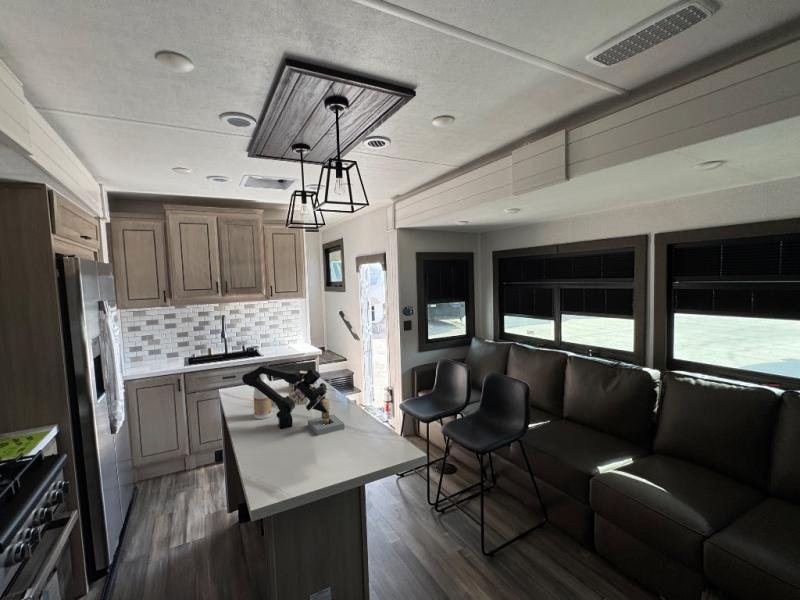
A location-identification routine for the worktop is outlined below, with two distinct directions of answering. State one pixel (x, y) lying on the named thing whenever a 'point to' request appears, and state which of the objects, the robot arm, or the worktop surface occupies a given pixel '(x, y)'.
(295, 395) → the decorative jar
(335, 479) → the worktop surface
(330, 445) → the worktop surface
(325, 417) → the oak peg
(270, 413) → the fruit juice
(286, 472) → the worktop surface
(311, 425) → the charcoal socket board
